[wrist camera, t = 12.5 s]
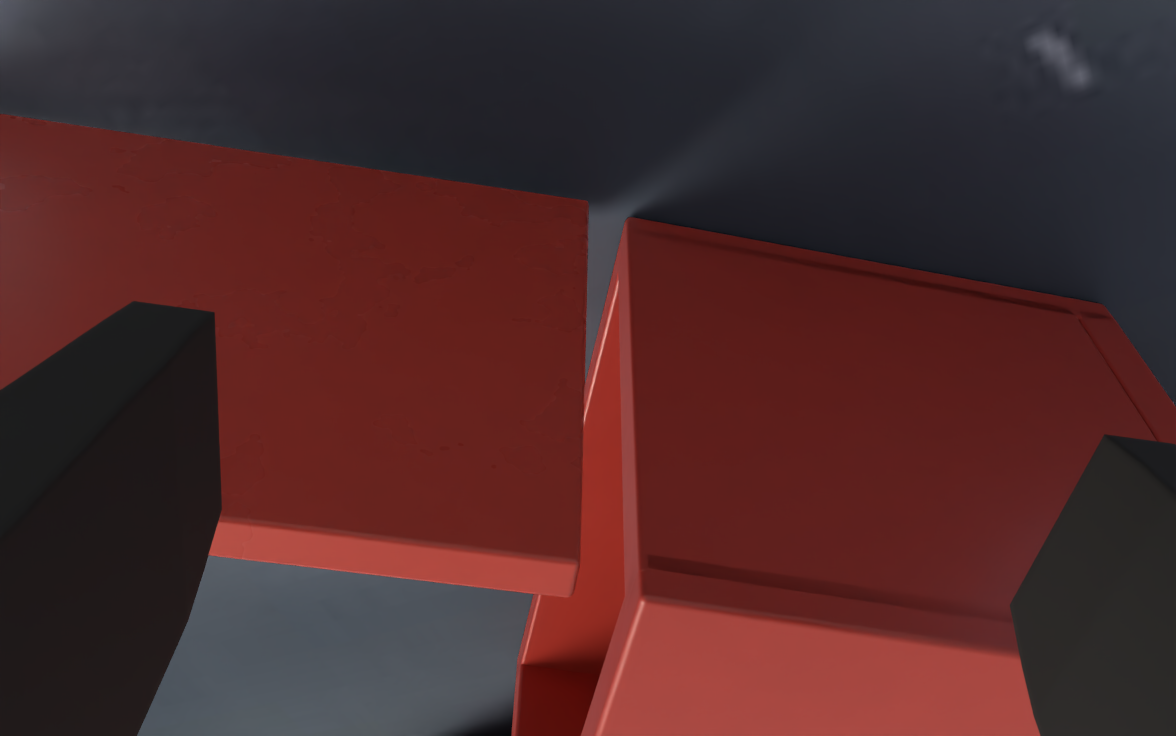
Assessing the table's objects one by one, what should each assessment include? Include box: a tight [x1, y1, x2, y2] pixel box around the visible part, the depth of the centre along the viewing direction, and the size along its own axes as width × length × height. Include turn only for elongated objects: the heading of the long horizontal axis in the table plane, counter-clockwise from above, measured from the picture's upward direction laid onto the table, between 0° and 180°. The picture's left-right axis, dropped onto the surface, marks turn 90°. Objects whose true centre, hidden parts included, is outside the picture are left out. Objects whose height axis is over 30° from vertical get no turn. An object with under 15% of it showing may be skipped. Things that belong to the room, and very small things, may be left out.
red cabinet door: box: [0, 114, 589, 598], centre depth 14 cm, size 12×6×9 cm, turn 81°
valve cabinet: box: [511, 217, 1176, 736], centre depth 20 cm, size 12×9×9 cm
